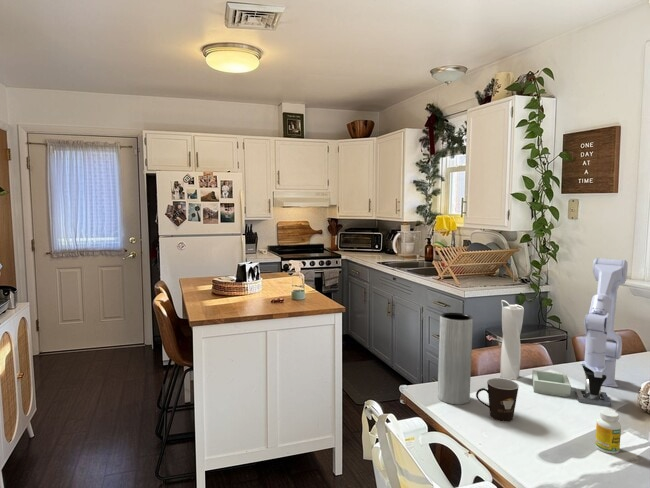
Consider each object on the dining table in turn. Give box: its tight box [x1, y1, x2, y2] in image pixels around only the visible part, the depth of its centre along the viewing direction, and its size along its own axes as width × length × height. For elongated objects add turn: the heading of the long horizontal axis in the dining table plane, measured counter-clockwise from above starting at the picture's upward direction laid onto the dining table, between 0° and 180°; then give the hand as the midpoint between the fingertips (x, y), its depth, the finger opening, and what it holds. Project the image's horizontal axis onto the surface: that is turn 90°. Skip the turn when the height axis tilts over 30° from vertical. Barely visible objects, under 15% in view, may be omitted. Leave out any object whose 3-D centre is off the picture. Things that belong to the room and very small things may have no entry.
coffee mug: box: [475, 377, 520, 423], centre depth 136 cm, size 12×9×10 cm
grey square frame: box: [574, 387, 612, 408], centre depth 149 cm, size 9×9×1 cm
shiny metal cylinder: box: [584, 375, 602, 400], centre depth 149 cm, size 4×4×7 cm
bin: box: [531, 369, 572, 398], centre depth 157 cm, size 11×11×4 cm
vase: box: [437, 312, 474, 405], centre depth 147 cm, size 10×10×27 cm
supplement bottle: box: [594, 409, 622, 455], centre depth 118 cm, size 5×5×10 cm
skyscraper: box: [499, 299, 525, 381], centre depth 167 cm, size 8×8×28 cm
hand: (592, 391), depth 149 cm, fingers closed on shiny metal cylinder, 4 cm apart
